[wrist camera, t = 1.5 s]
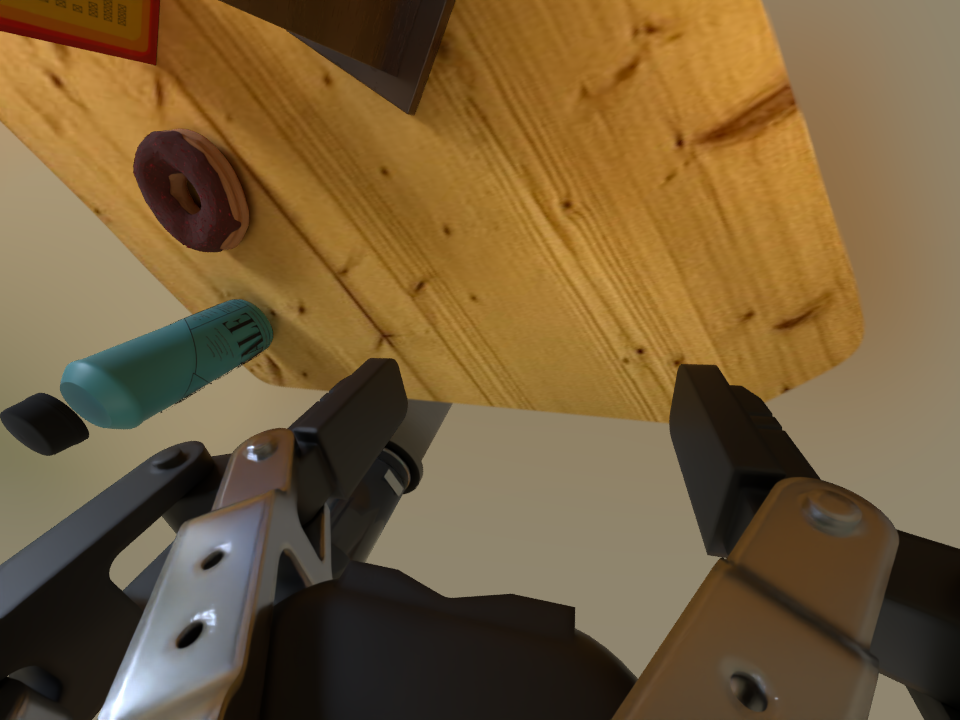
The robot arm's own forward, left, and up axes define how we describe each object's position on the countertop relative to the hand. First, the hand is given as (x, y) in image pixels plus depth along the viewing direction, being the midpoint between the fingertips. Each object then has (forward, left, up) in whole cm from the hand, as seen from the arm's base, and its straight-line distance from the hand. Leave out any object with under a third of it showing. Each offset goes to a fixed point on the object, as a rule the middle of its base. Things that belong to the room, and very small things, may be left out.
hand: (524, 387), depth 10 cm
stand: (-1, +19, -20) cm, 28 cm away
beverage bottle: (-32, +11, -21) cm, 40 cm away
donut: (-25, +22, -21) cm, 39 cm away
